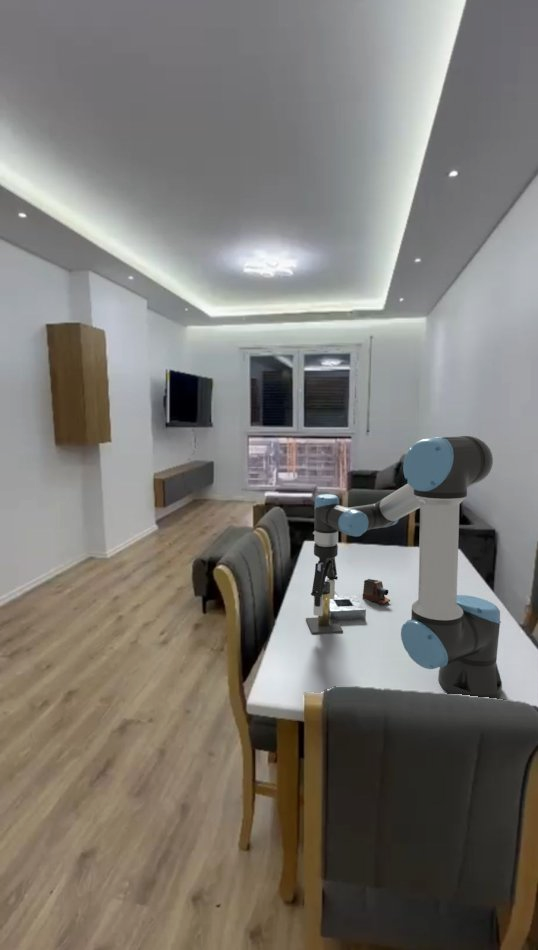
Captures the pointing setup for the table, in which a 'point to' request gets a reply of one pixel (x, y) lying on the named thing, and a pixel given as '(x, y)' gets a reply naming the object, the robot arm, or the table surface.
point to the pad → (332, 628)
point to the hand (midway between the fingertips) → (324, 606)
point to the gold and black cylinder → (325, 606)
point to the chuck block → (346, 608)
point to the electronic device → (375, 591)
